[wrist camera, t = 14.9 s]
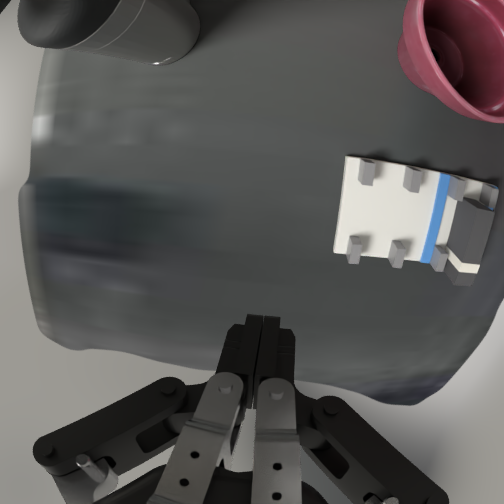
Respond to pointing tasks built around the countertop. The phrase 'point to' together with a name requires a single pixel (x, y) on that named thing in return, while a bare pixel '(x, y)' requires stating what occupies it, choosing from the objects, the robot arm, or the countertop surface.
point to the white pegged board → (401, 211)
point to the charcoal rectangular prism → (467, 240)
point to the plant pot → (457, 54)
